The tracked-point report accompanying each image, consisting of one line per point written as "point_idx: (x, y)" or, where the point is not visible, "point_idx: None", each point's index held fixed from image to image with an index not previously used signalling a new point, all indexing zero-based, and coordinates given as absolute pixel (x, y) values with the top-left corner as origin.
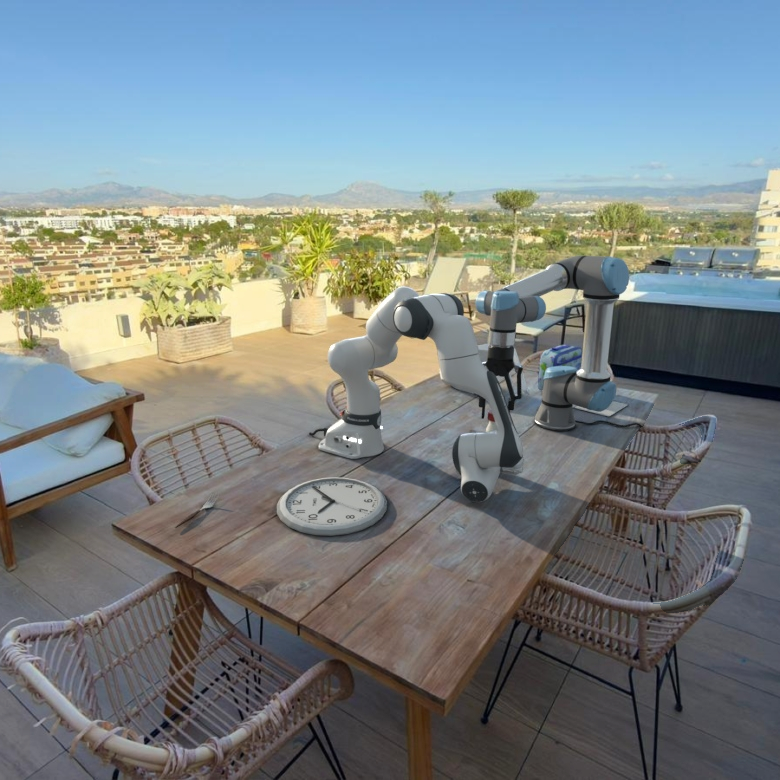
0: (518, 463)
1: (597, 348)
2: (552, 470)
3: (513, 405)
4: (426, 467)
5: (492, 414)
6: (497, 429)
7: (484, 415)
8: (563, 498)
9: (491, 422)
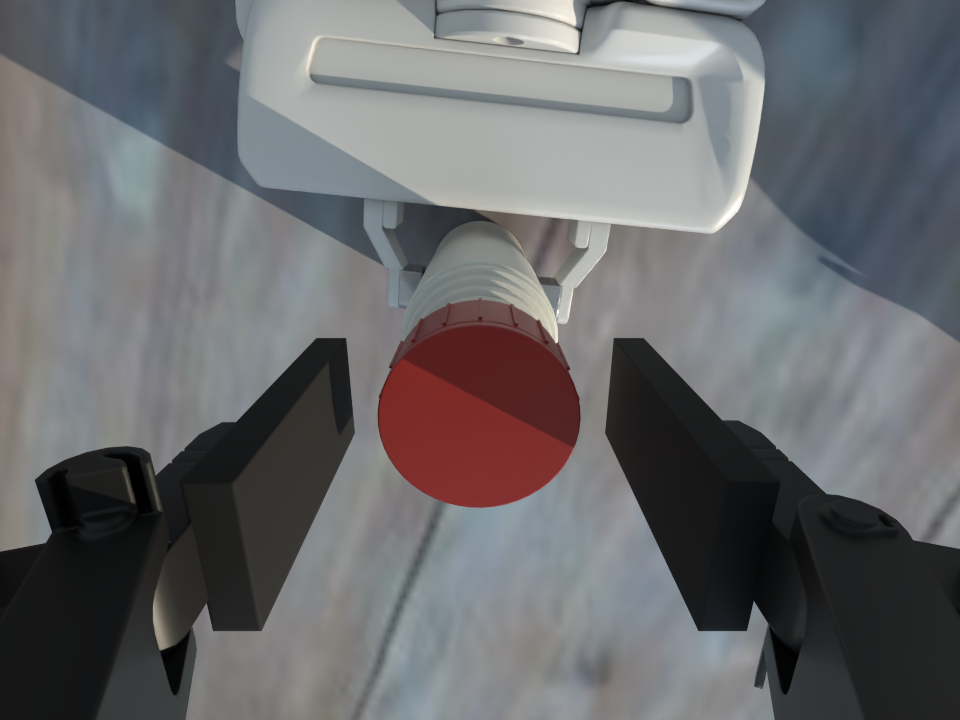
0: (255, 3)
1: None
2: (170, 356)
3: (183, 464)
4: (845, 198)
5: (521, 333)
6: (447, 291)
7: (609, 422)
8: (49, 12)
9: None
